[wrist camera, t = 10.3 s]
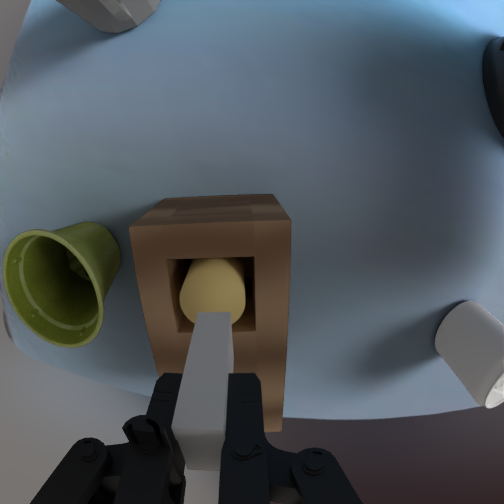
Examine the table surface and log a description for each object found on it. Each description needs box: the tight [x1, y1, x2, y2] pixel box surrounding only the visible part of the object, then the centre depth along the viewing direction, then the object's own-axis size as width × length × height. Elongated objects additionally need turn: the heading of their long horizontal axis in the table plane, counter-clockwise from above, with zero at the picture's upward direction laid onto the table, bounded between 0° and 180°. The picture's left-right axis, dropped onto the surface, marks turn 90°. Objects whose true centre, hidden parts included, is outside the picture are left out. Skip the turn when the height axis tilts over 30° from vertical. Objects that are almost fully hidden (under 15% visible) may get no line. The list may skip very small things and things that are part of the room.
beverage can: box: [435, 301, 504, 408], centre depth 25 cm, size 8×8×12 cm
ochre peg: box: [180, 257, 245, 325], centre depth 21 cm, size 4×4×8 cm
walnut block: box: [129, 194, 291, 432], centre depth 23 cm, size 18×9×9 cm, turn 1°
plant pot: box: [3, 222, 120, 348], centre depth 22 cm, size 9×9×9 cm
